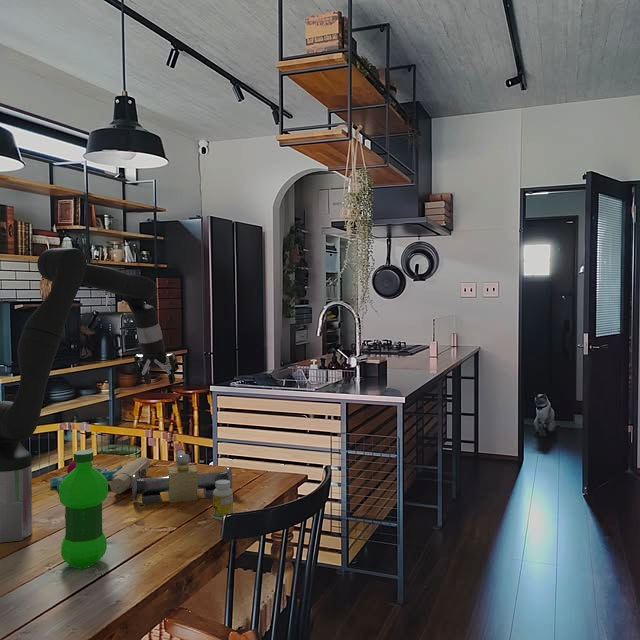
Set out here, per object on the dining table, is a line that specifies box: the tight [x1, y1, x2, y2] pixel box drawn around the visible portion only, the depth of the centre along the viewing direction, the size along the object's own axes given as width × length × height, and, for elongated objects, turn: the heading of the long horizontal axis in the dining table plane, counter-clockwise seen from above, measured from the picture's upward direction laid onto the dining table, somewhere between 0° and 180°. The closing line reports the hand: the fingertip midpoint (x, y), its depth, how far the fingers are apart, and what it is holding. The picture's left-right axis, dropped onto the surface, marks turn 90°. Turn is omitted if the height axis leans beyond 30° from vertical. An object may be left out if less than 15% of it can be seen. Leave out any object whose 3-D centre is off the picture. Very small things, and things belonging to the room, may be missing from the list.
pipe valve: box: [131, 462, 233, 505], centre depth 181 cm, size 28×7×10 cm, turn 108°
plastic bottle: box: [58, 449, 109, 569], centre depth 136 cm, size 10×10×25 cm
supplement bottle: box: [212, 480, 234, 521], centre depth 165 cm, size 5×5×10 cm
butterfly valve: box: [49, 456, 151, 495], centre depth 191 cm, size 27×7×30 cm
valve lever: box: [173, 442, 190, 465], centre depth 187 cm, size 18×4×2 cm, turn 18°
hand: (160, 383), depth 202 cm, fingers open, 8 cm apart
